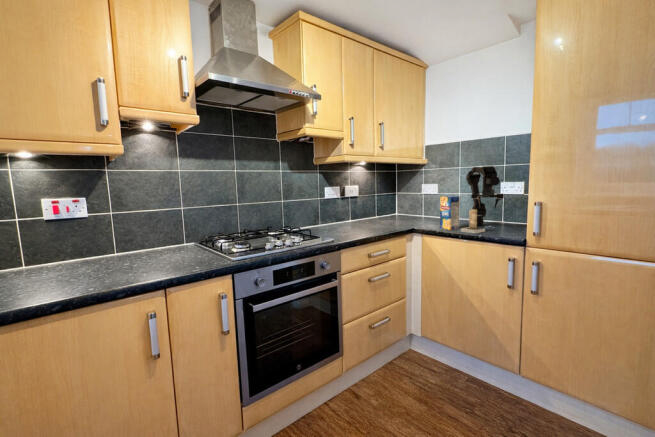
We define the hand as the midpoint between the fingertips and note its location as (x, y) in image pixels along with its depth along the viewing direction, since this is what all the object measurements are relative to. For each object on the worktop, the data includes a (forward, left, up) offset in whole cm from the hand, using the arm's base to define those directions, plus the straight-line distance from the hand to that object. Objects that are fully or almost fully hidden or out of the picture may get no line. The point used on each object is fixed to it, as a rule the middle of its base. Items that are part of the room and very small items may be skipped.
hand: (486, 209), depth 202 cm
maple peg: (+2, -17, -13) cm, 21 cm away
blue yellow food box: (-15, -18, -13) cm, 27 cm away
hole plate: (+2, -17, -13) cm, 21 cm away
